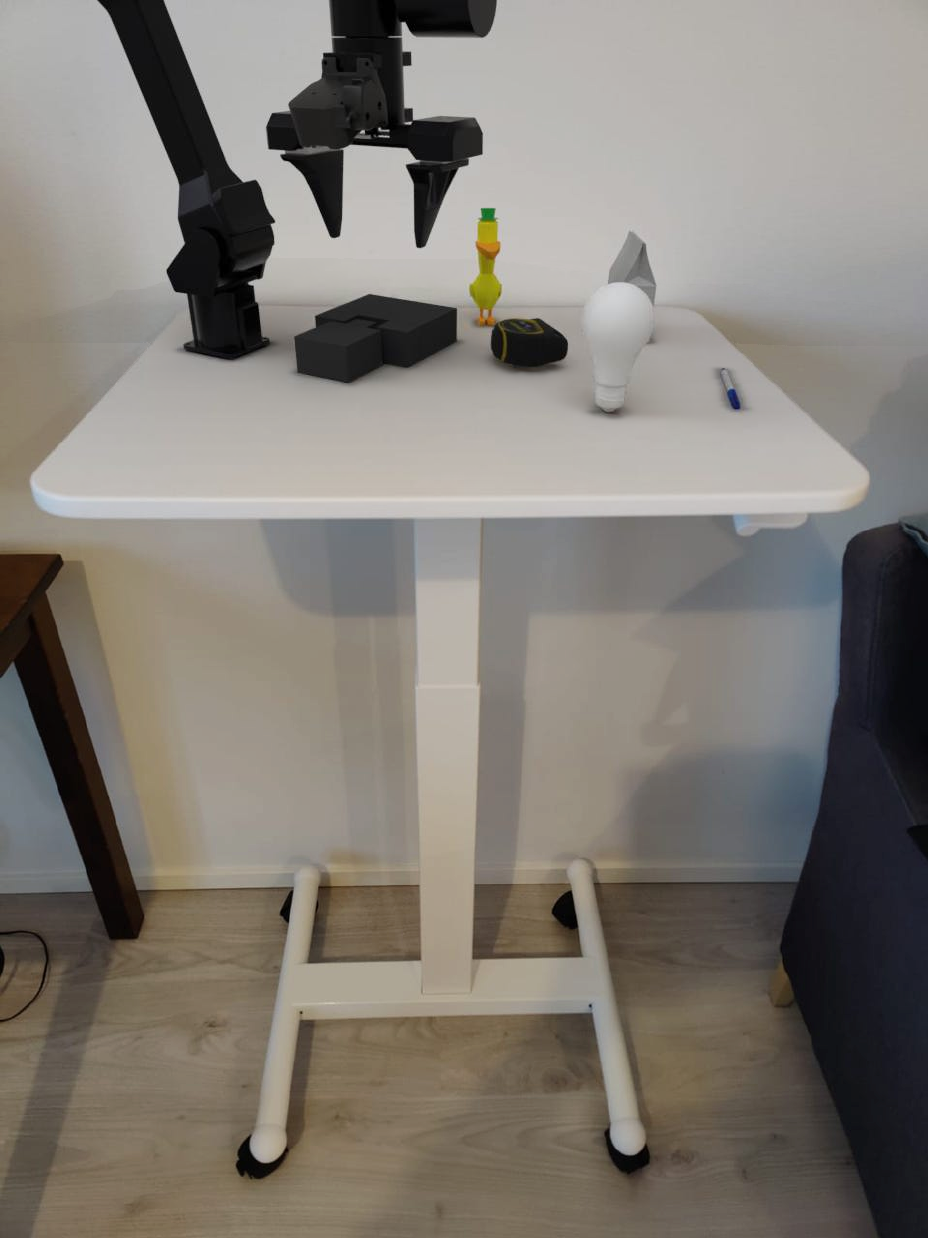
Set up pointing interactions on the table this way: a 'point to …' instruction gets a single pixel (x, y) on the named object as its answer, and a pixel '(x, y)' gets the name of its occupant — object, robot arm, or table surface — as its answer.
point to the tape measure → (527, 342)
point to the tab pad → (339, 350)
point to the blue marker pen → (730, 389)
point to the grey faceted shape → (634, 267)
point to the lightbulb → (616, 337)
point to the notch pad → (400, 326)
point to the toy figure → (486, 266)
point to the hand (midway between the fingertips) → (377, 242)
